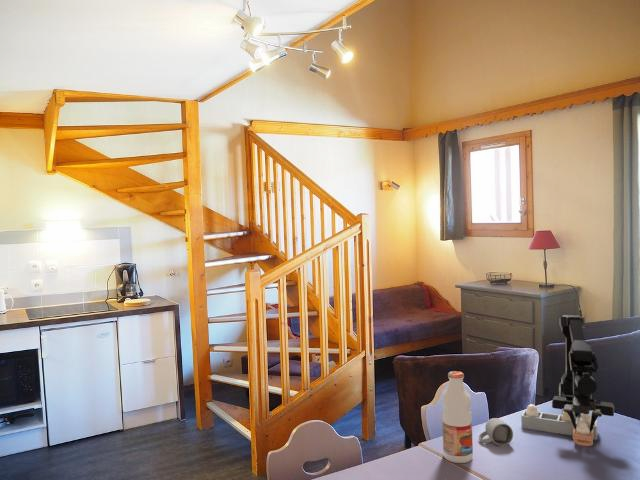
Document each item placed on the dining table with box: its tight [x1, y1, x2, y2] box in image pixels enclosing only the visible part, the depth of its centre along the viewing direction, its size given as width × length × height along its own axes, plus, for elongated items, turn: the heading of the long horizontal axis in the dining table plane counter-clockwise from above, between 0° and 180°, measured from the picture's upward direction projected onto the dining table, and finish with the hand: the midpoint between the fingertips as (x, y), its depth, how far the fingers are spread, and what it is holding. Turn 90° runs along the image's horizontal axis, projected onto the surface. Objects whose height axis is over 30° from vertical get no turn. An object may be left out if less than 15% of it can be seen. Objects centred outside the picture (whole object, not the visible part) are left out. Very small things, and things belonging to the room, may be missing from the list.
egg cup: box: [572, 429, 594, 447], centre depth 179 cm, size 6×6×4 cm
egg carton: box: [520, 403, 598, 440], centre depth 190 cm, size 7×25×8 cm, turn 60°
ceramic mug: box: [478, 417, 514, 447], centre depth 183 cm, size 11×8×8 cm
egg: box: [576, 419, 590, 435], centre depth 179 cm, size 4×4×6 cm
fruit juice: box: [441, 370, 474, 464], centre depth 171 cm, size 9×9×28 cm
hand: (583, 430), depth 179 cm, fingers closed on egg, 4 cm apart
